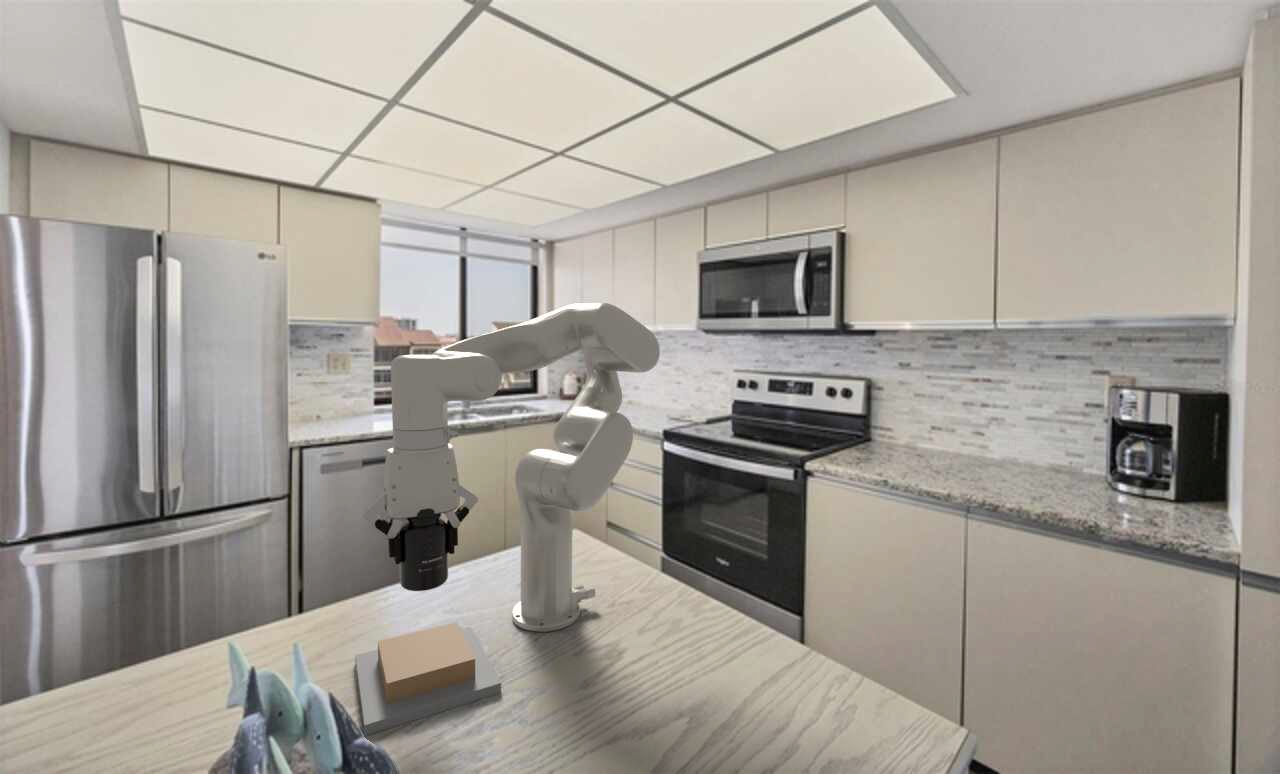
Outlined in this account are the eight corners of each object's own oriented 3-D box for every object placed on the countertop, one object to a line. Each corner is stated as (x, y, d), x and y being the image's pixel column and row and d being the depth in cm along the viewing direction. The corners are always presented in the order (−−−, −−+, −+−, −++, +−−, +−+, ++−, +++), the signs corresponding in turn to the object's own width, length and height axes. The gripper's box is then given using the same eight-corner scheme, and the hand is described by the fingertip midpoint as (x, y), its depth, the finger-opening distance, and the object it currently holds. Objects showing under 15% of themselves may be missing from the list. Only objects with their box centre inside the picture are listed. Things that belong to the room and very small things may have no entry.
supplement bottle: (432, 595, 78) (429, 514, 77) (390, 590, 80) (387, 510, 78) (457, 574, 85) (455, 499, 84) (418, 570, 86) (415, 496, 85)
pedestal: (470, 634, 96) (470, 609, 95) (501, 692, 80) (501, 663, 80) (355, 664, 86) (354, 636, 86) (364, 736, 71) (364, 703, 71)
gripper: (474, 430, 88) (476, 537, 89) (352, 439, 79) (357, 558, 81) (487, 438, 81) (488, 553, 83) (356, 449, 72) (361, 578, 74)
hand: (424, 554), depth 82 cm, fingers closed on supplement bottle, 6 cm apart
